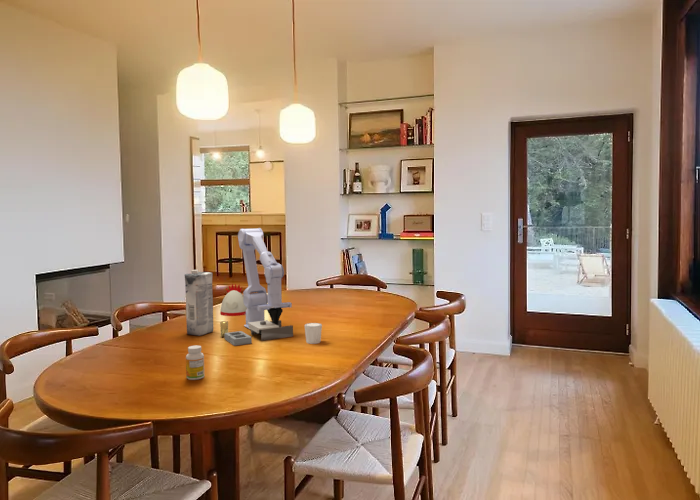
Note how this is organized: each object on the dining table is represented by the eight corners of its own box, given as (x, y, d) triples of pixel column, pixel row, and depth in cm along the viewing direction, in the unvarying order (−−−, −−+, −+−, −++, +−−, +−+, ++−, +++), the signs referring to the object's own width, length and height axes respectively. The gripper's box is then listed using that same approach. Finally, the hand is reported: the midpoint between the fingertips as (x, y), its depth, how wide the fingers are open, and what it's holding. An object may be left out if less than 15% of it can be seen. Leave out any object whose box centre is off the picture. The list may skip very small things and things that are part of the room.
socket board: (224, 339, 210) (224, 333, 210) (241, 336, 214) (241, 330, 213) (234, 345, 200) (234, 339, 200) (251, 343, 203) (251, 337, 203)
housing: (250, 334, 218) (250, 323, 218) (280, 330, 225) (280, 320, 225) (262, 340, 207) (261, 329, 207) (293, 336, 214) (292, 325, 214)
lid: (247, 327, 217) (247, 320, 217) (267, 325, 222) (266, 317, 222) (258, 333, 206) (258, 326, 206) (279, 331, 211) (278, 323, 211)
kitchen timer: (245, 316, 255) (244, 286, 254) (217, 316, 256) (216, 286, 254) (251, 310, 269) (250, 282, 268) (224, 310, 270) (223, 282, 268)
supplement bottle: (188, 374, 165) (187, 344, 164) (205, 374, 166) (205, 344, 165) (184, 380, 160) (183, 349, 159) (202, 379, 160) (201, 349, 159)
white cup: (324, 340, 207) (324, 323, 207) (318, 344, 201) (317, 327, 200) (308, 339, 209) (308, 322, 209) (301, 343, 203) (301, 325, 202)
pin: (219, 335, 216) (219, 321, 215) (226, 335, 217) (226, 320, 217) (222, 337, 213) (221, 323, 213) (229, 336, 215) (228, 322, 214)
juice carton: (216, 331, 224) (215, 269, 222) (200, 336, 214) (198, 271, 212) (200, 329, 228) (198, 268, 225) (183, 334, 218) (181, 270, 216)
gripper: (261, 296, 209) (262, 330, 210) (294, 293, 216) (295, 325, 217) (255, 294, 215) (256, 326, 216) (287, 291, 222) (288, 322, 223)
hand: (275, 325), depth 217 cm, fingers closed
